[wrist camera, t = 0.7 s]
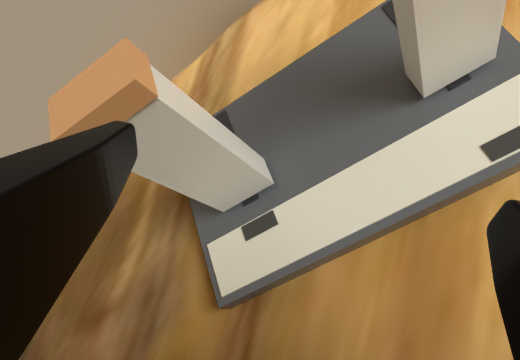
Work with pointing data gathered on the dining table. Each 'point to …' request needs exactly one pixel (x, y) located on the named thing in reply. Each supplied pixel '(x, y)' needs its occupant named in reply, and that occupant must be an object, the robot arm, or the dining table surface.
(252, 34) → the dining table surface
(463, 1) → the lever
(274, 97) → the switch bank
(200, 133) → the lever
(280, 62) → the dining table surface
